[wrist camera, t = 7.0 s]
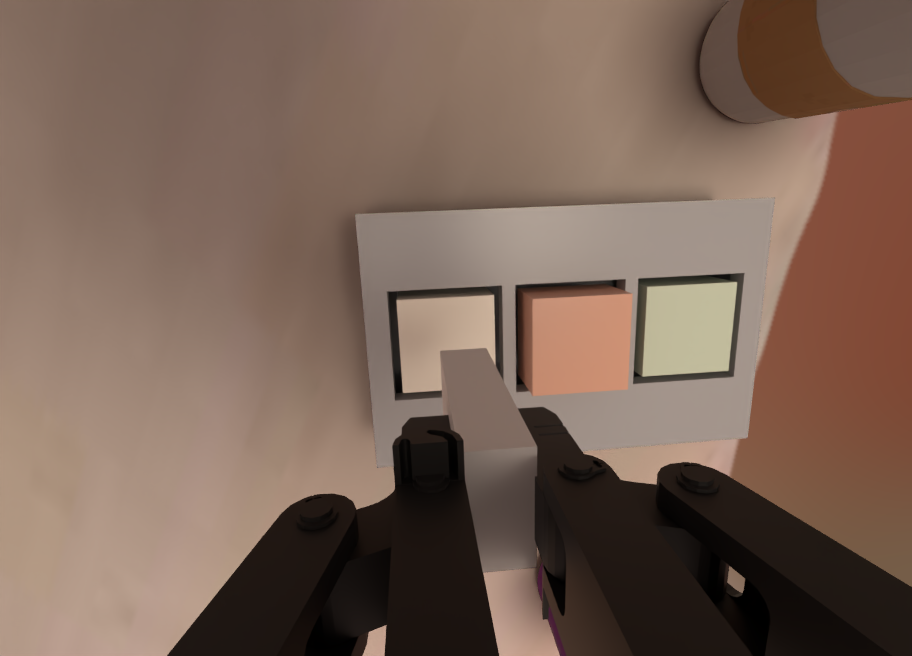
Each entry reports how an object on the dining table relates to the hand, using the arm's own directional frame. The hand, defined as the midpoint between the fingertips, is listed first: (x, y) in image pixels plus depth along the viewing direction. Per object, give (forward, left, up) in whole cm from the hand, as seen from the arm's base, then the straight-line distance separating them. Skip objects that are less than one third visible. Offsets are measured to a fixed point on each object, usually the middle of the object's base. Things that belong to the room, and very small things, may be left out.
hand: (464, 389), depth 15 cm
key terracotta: (0, +6, -8) cm, 10 cm away
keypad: (0, +6, -11) cm, 13 cm away
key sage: (0, +11, -10) cm, 15 cm away
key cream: (0, 0, -10) cm, 10 cm away
